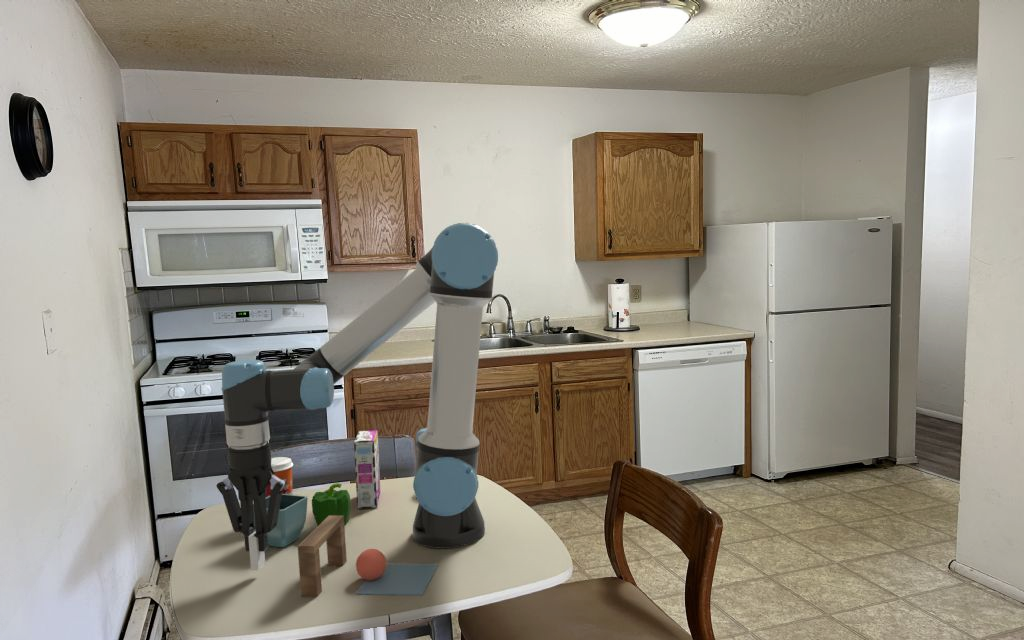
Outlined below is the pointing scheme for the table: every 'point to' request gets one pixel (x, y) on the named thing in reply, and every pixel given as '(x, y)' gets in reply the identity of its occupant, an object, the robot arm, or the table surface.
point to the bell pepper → (331, 504)
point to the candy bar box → (367, 469)
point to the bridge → (310, 557)
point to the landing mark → (400, 580)
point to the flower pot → (288, 520)
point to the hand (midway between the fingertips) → (258, 567)
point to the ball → (371, 564)
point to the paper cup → (282, 473)
